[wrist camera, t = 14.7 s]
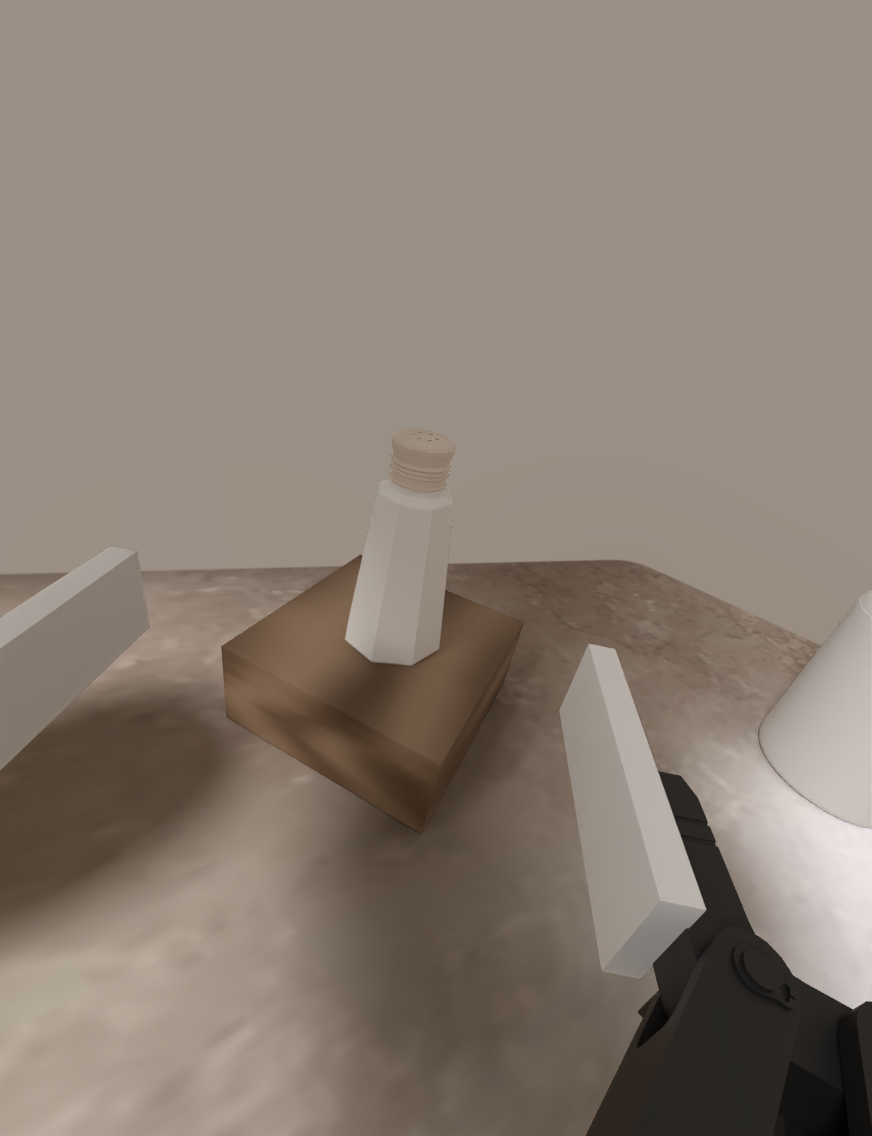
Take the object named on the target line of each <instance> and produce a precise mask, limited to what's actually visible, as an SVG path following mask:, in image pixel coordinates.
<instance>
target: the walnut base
mask: <svg viewBox="0 0 872 1136" xmlns="http://www.w3.org/2000/svg"><path fill="white" fill-rule="evenodd" d="M361 561H362V555H359V556H358V557H356V558H355V559H353V560H352V561H350V562H349V563H347V564H346V565H344V566H343V567H341V568H340V569H338V570H337V571H335V572H333V573H332V574H330V575H329V576H327V577H326V578H324V579H323V580H321V581H320V582H318V583H317V584H315V585H314V586H312V587H311V588H309V589H308V590H306V591H305V592H303V593H302V594H300V595H299V596H297V597H296V598H294V599H293V600H291V601H290V602H288V603H286V604H285V605H283V606H282V607H280V608H279V609H277V610H276V611H274V612H273V613H271V614H270V615H268V616H267V617H265V618H264V619H262V620H261V621H259V622H258V623H256V624H255V625H253V626H252V627H250V628H249V629H247V630H246V631H244V632H243V633H241V634H239V635H238V636H236V637H235V638H233V639H232V640H230V641H229V642H227V643H226V644H224V645H223V646H221V648H222V662H223V675H224V689H225V702H226V716H227V718H229V719H230V720H232V721H234V722H235V723H237V724H239V725H240V726H242V727H244V728H245V729H247V730H249V731H250V732H252V733H254V734H255V735H257V736H259V737H260V738H262V739H264V740H265V741H267V742H269V743H270V744H272V745H274V746H275V747H277V748H279V749H280V750H282V751H284V752H285V753H287V754H289V755H290V756H292V757H294V758H295V759H297V760H299V761H300V762H302V763H304V764H305V765H307V766H309V767H310V768H312V769H314V770H315V771H317V772H319V773H320V774H322V775H324V776H325V777H327V778H329V779H330V780H332V781H334V782H335V783H337V784H339V785H340V786H342V787H344V788H345V789H347V790H349V791H350V792H352V793H354V794H355V795H357V796H359V797H360V798H362V799H364V800H365V801H367V802H369V803H370V804H372V805H374V806H375V807H377V808H379V809H380V810H382V811H384V812H385V813H387V814H389V815H390V816H392V817H394V818H395V819H397V820H399V821H400V822H402V823H404V824H405V825H407V826H409V827H410V828H412V829H414V830H415V831H417V832H419V833H420V834H422V833H423V831H424V829H425V827H426V825H427V823H428V821H429V820H430V818H431V816H432V814H433V812H434V810H435V808H436V807H437V805H438V803H439V801H440V799H441V797H442V795H443V794H444V792H445V790H446V788H447V786H448V784H449V782H450V781H451V779H452V777H453V775H454V773H455V771H456V769H457V768H458V766H459V764H460V762H461V760H462V758H463V756H464V755H465V753H466V751H467V749H468V747H469V745H470V743H471V742H472V740H473V738H474V736H475V734H476V732H477V730H478V729H479V727H480V725H481V723H482V721H483V719H484V717H485V716H486V714H487V712H488V710H489V708H490V706H491V704H492V703H493V701H494V699H495V697H496V695H497V693H498V691H499V690H500V688H501V686H502V684H503V682H504V679H505V676H506V673H507V670H508V667H509V664H510V661H511V659H512V656H513V653H514V650H515V647H516V644H517V641H518V638H519V635H520V632H521V629H522V626H523V622H520V621H518V620H516V619H513V618H511V617H508V616H506V615H504V614H501V613H499V612H496V611H494V610H492V609H489V608H487V607H484V606H482V605H480V604H477V603H475V602H472V601H470V600H468V599H465V598H463V597H460V596H458V595H456V594H453V593H451V592H448V591H446V590H445V596H444V606H443V616H442V626H441V636H440V646H439V649H438V650H437V651H435V652H433V653H432V654H430V655H428V656H427V657H425V658H423V659H422V660H420V661H418V662H417V663H415V664H413V665H412V666H405V665H395V664H385V663H374V662H371V661H370V660H368V659H367V658H366V657H365V656H364V655H363V654H361V653H360V652H359V651H358V650H357V649H355V648H354V647H353V646H352V645H351V644H349V643H348V642H347V641H346V640H345V636H346V630H347V625H348V620H349V614H350V610H351V605H352V601H353V596H354V592H355V587H356V583H357V578H358V574H359V570H360V565H361Z"/></svg>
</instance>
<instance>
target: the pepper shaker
mask: <svg viewBox="0 0 872 1136" xmlns="http://www.w3.org/2000/svg"><path fill="white" fill-rule="evenodd" d="M392 448H393V454H392V455H391V464H390V467H391V469H392V470H391V473H390V477H389V478H390V479H386V480H383V481H380V483H379V486H378V490H377V494H376V498H375V503H374V507H373V512H372V516H371V521H370V525H369V530H368V534H367V538H366V543H365V547H364V552H363V556H362V561H361V565H360V570H359V574H358V578H357V583H356V587H355V592H354V596H353V601H352V605H351V610H350V614H349V620H348V625H347V630H346V636H345V640H346V641H347V642H348V643H349V644H351V645H352V646H353V647H354V648H355V649H357V650H358V651H359V652H360V653H361V654H363V655H364V656H365V657H366V658H367V659H368V660H370V661H371V662H374V663H385V664H395V665H405V666H412V665H413V664H415V663H417V662H418V661H420V660H422V659H423V658H425V657H427V656H428V655H430V654H432V653H433V652H435V651H437V650H438V649H439V646H440V636H441V626H442V616H443V606H444V596H445V586H446V577H447V567H448V557H449V547H450V536H451V527H452V515H453V501H452V496H451V492H450V491H449V490H448V489H446V488H445V487H446V478H447V477H448V476H449V474H448V473H449V469H450V461H451V459H452V457H453V455H454V453H455V449H456V448H455V445H454V443H453V442H452V441H451V440H450V439H448V438H447V437H445V436H443V435H440V434H438V433H435V432H432V431H426V430H421V429H406V430H401V431H398V432H396V433H395V434H394V435H393V436H392Z"/></svg>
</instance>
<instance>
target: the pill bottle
mask: <svg viewBox="0 0 872 1136" xmlns="http://www.w3.org/2000/svg"><path fill="white" fill-rule="evenodd" d="M759 741H760V745H761V748H762V750H763V752H764V754H765V756H766V758H767V759H768V761H769V762H770V764H771V765H772V766H773V768H774V769H775V770H776V771H777V772H778V773H779V775H780V776H781V777H782V778H783V779H784V780H785V781H786V782H787V783H788V784H789V785H790V786H792V787H793V788H794V789H795V790H796V791H797V792H799V793H800V794H801V795H802V796H804V797H805V798H806V799H808V800H809V801H810V802H812V803H813V804H815V805H816V806H818V807H820V808H821V809H823V810H824V811H826V812H828V813H830V814H832V815H834V816H835V817H838V818H840V819H842V820H844V821H846V822H849V823H852V824H854V825H858V826H861V827H865V828H871V829H872V590H870V591H869V592H867V593H866V594H864V595H862V596H861V597H860V598H859V599H858V600H857V602H856V603H855V604H854V605H853V607H852V608H851V609H850V610H849V612H848V613H847V614H846V615H845V617H844V618H843V619H842V621H841V622H840V623H839V624H838V626H837V627H836V628H835V629H834V631H833V632H832V633H831V635H830V636H829V637H828V638H827V640H826V641H825V642H824V643H823V645H822V646H821V647H820V649H819V650H818V651H817V652H816V654H815V655H814V656H813V657H812V659H811V660H810V661H809V663H808V664H807V665H806V666H805V668H804V669H803V670H802V671H801V673H800V674H799V675H798V677H797V678H796V679H795V680H794V682H793V683H792V684H791V685H790V687H789V688H788V689H787V691H786V692H785V693H784V694H783V696H782V697H781V698H780V699H779V701H778V702H777V703H776V705H775V706H774V707H773V708H772V710H771V711H770V712H769V713H768V715H767V716H766V717H765V720H764V721H763V723H762V725H761V727H760V730H759Z"/></svg>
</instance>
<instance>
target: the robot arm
mask: <svg viewBox="0 0 872 1136" xmlns="http://www.w3.org/2000/svg"><path fill="white" fill-rule="evenodd" d="M149 627H150V625H149V619H148V613H147V607H146V602H145V596H144V590H143V584H142V578H141V572H140V566H139V560H138V554H137V551H133V550H129V549H124V548H119V547H114V546H110V547H108V548H106V549H105V550H103V551H102V552H100V553H99V554H97V555H96V556H94V557H93V558H91V559H90V560H88V561H87V562H85V563H83V564H82V565H80V566H79V567H77V568H76V569H74V570H73V571H71V572H69V573H68V574H66V575H65V576H63V577H62V578H60V579H59V580H57V581H56V582H54V583H52V584H51V585H49V586H48V587H46V588H45V589H43V590H42V591H40V592H39V593H37V594H36V595H34V596H32V597H31V598H29V599H28V600H26V601H25V602H23V603H22V604H20V605H19V606H17V607H15V608H14V609H12V610H11V611H9V612H8V613H6V614H5V615H3V616H2V617H0V770H1V769H2V768H3V767H4V766H6V765H7V764H8V763H9V762H10V761H11V760H12V759H13V758H14V757H15V756H16V755H17V754H18V753H19V752H20V751H21V750H22V749H23V748H24V747H25V746H26V745H27V744H28V743H29V742H31V741H32V740H33V739H34V738H35V737H36V736H37V735H38V734H39V733H40V732H41V731H42V730H43V729H44V728H45V727H46V726H47V725H48V724H49V723H50V722H51V721H52V720H53V719H54V718H56V717H57V716H58V715H59V714H60V713H61V712H62V711H63V710H64V709H65V708H66V707H67V706H68V705H69V704H70V703H71V702H72V701H73V700H74V699H75V698H76V697H77V696H78V695H79V694H81V693H82V692H83V691H84V690H85V689H86V688H87V687H88V686H89V685H90V684H91V683H92V682H93V681H94V680H95V679H96V678H97V677H98V676H99V675H100V674H101V673H102V672H103V671H104V670H106V669H107V668H108V667H109V666H110V665H111V664H112V663H113V662H114V661H115V660H116V659H117V658H118V657H119V656H120V655H121V654H122V653H123V652H124V651H125V650H126V649H127V648H128V647H129V646H131V645H132V644H133V643H134V642H135V641H136V640H137V639H138V638H139V637H140V636H141V635H142V634H143V633H144V632H145V631H146V630H147V629H148V628H149ZM559 713H560V719H561V725H562V731H563V737H564V743H565V750H566V756H567V762H568V768H569V774H570V780H571V786H572V793H573V799H574V805H575V811H576V817H577V823H578V830H579V836H580V842H581V848H582V854H583V860H584V867H585V873H586V879H587V885H588V891H589V897H590V904H591V910H592V916H593V922H594V928H595V934H596V941H597V947H598V953H599V959H600V965H601V971H603V972H608V973H613V974H617V975H622V976H627V977H632V978H637V979H641V978H642V977H643V976H644V975H645V974H646V973H647V972H648V971H649V970H650V969H651V968H652V967H654V972H655V976H656V980H657V984H658V988H659V991H658V992H657V993H656V994H655V995H654V996H653V997H652V998H651V999H649V1000H648V1001H647V1002H646V1003H645V1004H644V1005H643V1007H642V1008H641V1009H640V1010H639V1011H638V1013H639V1014H640V1015H641V1016H642V1017H643V1019H642V1021H641V1023H640V1025H639V1027H638V1029H637V1031H636V1033H635V1036H634V1038H633V1040H632V1042H631V1044H630V1046H629V1048H628V1050H627V1052H626V1054H625V1056H624V1058H623V1060H622V1062H621V1064H620V1066H619V1068H618V1071H617V1073H616V1075H615V1077H614V1079H613V1081H612V1083H611V1085H610V1087H609V1089H608V1091H607V1093H606V1095H605V1097H604V1099H603V1101H602V1103H601V1106H600V1108H599V1110H598V1112H597V1114H596V1116H595V1118H594V1120H593V1122H592V1124H591V1126H590V1128H589V1130H588V1132H587V1134H586V1136H872V1002H868V1001H866V1002H865V1003H863V1004H861V1005H860V1006H858V1007H856V1008H855V1009H851V1008H849V1007H847V1006H846V1005H844V1004H842V1003H840V1002H838V1001H837V1000H835V999H833V998H831V997H829V996H827V995H826V994H824V993H822V992H820V991H818V990H817V989H815V988H813V987H811V986H809V985H808V984H806V983H804V982H802V981H801V980H799V979H798V978H796V977H795V976H793V975H792V973H791V971H790V970H789V968H788V967H787V965H786V964H785V962H784V961H783V959H782V958H781V957H780V956H779V954H778V953H777V952H776V951H775V950H774V949H773V948H772V947H771V946H770V945H769V944H768V943H767V942H766V941H764V940H763V939H761V938H760V937H758V936H757V935H755V933H754V931H753V929H752V927H751V925H750V923H749V921H748V919H747V916H746V914H745V911H744V909H743V906H742V904H741V902H740V899H739V897H738V894H737V892H736V889H735V887H734V885H733V882H732V880H731V877H730V875H729V872H728V870H727V868H726V865H725V863H724V860H723V858H722V855H721V853H720V851H719V848H718V847H717V846H716V845H715V842H716V841H715V838H714V836H713V834H712V831H711V829H710V827H709V826H708V825H707V822H708V821H707V819H706V817H705V814H704V812H703V809H702V807H701V804H700V802H699V800H698V798H697V796H696V795H695V794H694V792H693V791H692V790H691V789H690V787H689V786H688V785H687V783H686V782H685V781H684V779H683V778H682V777H681V776H679V775H674V774H669V773H664V772H659V771H658V770H657V767H656V765H655V762H654V759H653V756H652V753H651V750H650V747H649V745H648V742H647V739H646V736H645V733H644V730H643V727H642V725H641V722H640V719H639V716H638V713H637V710H636V707H635V705H634V702H633V699H632V696H631V693H630V690H629V687H628V685H627V682H626V679H625V676H624V673H623V670H622V667H621V665H620V662H619V659H618V656H617V653H616V650H615V649H612V648H607V647H603V646H598V645H593V644H588V646H587V649H586V651H585V653H584V655H583V658H582V660H581V662H580V665H579V667H578V669H577V672H576V674H575V676H574V678H573V681H572V683H571V685H570V688H569V690H568V692H567V694H566V697H565V699H564V701H563V704H562V706H561V708H560V710H559Z"/></svg>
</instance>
